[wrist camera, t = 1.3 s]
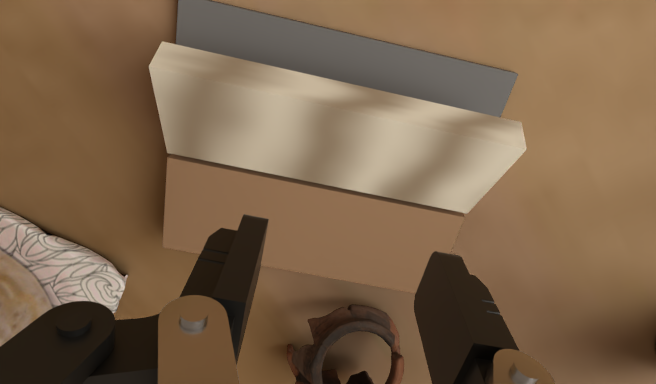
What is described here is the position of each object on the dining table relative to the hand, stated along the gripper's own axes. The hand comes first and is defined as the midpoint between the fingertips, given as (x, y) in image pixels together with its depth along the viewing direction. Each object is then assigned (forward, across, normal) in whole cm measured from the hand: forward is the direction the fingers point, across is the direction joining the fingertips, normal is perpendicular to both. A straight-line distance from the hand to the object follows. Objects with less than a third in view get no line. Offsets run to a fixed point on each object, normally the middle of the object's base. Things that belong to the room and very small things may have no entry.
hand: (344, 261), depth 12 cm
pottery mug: (+18, -6, +21) cm, 28 cm away
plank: (+15, 0, +1) cm, 15 cm away
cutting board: (+17, 0, +4) cm, 18 cm away
